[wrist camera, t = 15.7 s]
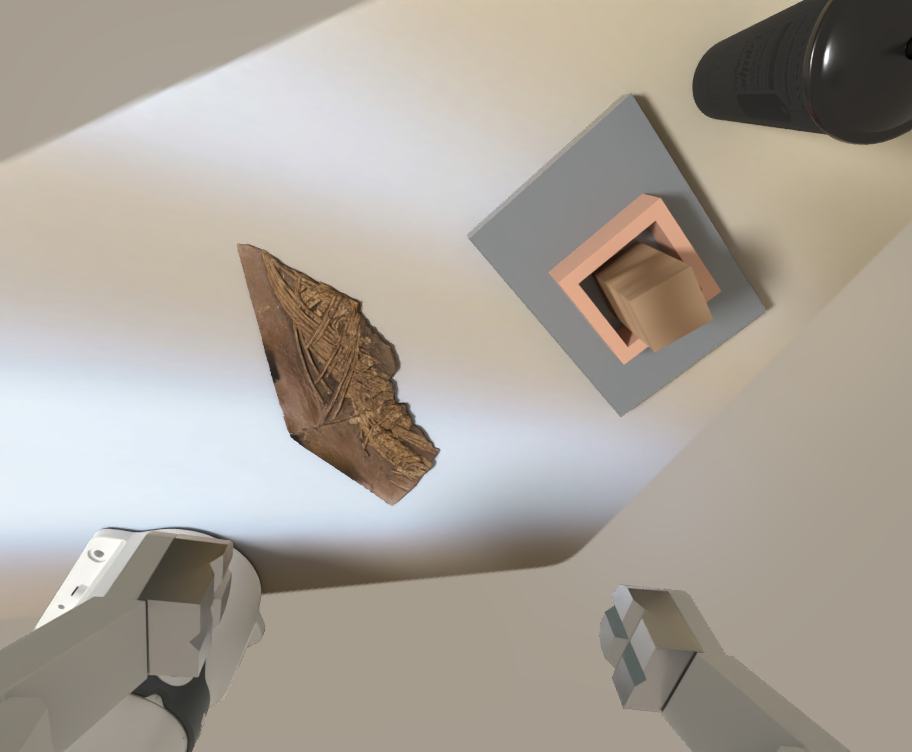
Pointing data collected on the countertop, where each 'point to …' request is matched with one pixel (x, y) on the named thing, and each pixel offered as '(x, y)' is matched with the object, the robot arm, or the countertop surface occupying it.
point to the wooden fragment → (334, 379)
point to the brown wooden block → (652, 294)
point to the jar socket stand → (612, 252)
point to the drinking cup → (816, 71)
